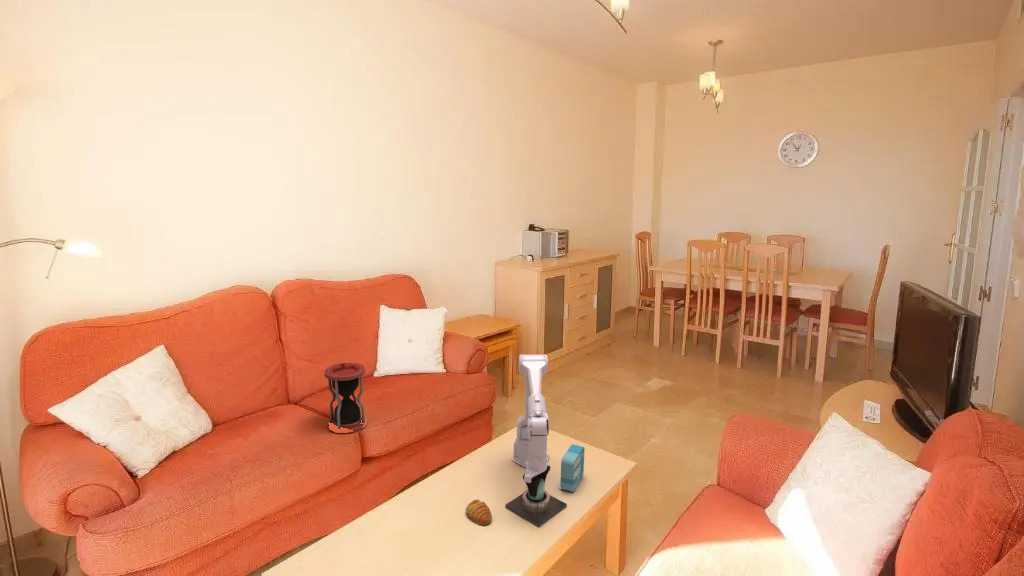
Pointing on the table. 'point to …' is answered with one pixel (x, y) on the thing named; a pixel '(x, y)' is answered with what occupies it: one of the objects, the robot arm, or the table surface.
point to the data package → (572, 468)
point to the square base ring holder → (536, 508)
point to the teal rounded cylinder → (539, 491)
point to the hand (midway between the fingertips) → (536, 491)
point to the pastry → (479, 512)
